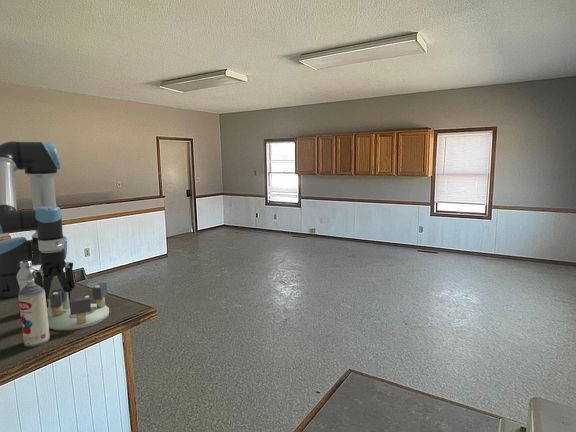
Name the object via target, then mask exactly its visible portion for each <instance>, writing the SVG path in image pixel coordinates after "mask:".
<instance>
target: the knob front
mask: <svg viewBox="0 0 576 432" xmlns="http://www.w3.org/2000/svg"><path fill="white" fill-rule="evenodd" d="M90 304H91V297H90V295H86V296H85V295H84V296H83V297H75V298H70V299H69V307H70V312H71V315H74V314H76V316H77V324H84V323H86V312H90V311H91V305H90Z"/></svg>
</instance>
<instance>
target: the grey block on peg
mask: <svg viewBox="0 0 576 432" xmlns="http://www.w3.org/2000/svg"><path fill="white" fill-rule="evenodd" d="M91 290H92V292H91V293H92V300H93V301H96V304H97V308H102V307H105V305H106V300H105V299H106V298H105V297H106V296H107V295H108V285H107V282H98V283H96V284H95V285H94V286H93V287H92V288H91Z"/></svg>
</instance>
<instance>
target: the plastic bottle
mask: <svg viewBox="0 0 576 432" xmlns="http://www.w3.org/2000/svg"><path fill="white" fill-rule="evenodd" d="M20 267H21V269H20V270H19V272H18V274H17V281H18V284H19V288H20V291H21V290H22V289H23V288H24V287H25V286H26V285H27V281H30V280H34V277H33V275H32V272H33V271H37V270H36V269H35V268H34V267H33V266H32V261H31V260H24V261H21V262H20Z"/></svg>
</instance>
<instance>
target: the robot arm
mask: <svg viewBox="0 0 576 432" xmlns="http://www.w3.org/2000/svg"><path fill="white" fill-rule="evenodd" d="M61 167H62V166H61V162H60V158H59V154H58V150H57V147H56V145H55V143H52V142H43V141H35V142H34V141H7V142H3V143H1V144H0V235H2V234H10V233H20V232H21V233H22V232H34V231H35V232H34V233H33V234H32V235H31V239H27V238H26V236H25V237H24V236H21V237H19V236H18V237H13V238H8V239H7V238H6V239H3V240H0V299H5V298H15V297H18V295H19V292H20V288H19V284H18V281H17V274H18V272H19V270H20V269H21V267H20V262H21V261H24V260H31V261H32V267H36V266H39V269H38V270H36V271H33V272H32V275H33V277H34V283H35V284H37V285H39V286H40V287H43V288H44V290H45V296H46V305H47V315H48V317H49V316H50V317H51V316H52V314H53V308H51V299H50V297H49V295H50V290H51V286H52V281H53V279H54V277H57V279H58V281H59V285H60V286H61V289H62V294H63V303H62V308H63V309H67V310H68V309H70V301H69V300H70V299H71V292H72V291H73V289H75V287H76V284H75V277H74V270H73V268H74V263H73V262H70V261H66V258H67V255H68V254H67V253H68V239H67V236H64V235H63V220H62V217H63V216H62V210H61V208H60V207H59V206H57V201H56V189H55V181H54V180H55V179H54V178H55V176H57V175H58V171H59V170H61ZM17 170H18V171H19V170H23V171H24V174H25V175H26V177H28V178H29V181H30V182H29V183H30V192H31V202H32V209H30V210H18V206H17V193H16V181H15V173H16V172H17Z"/></svg>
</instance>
